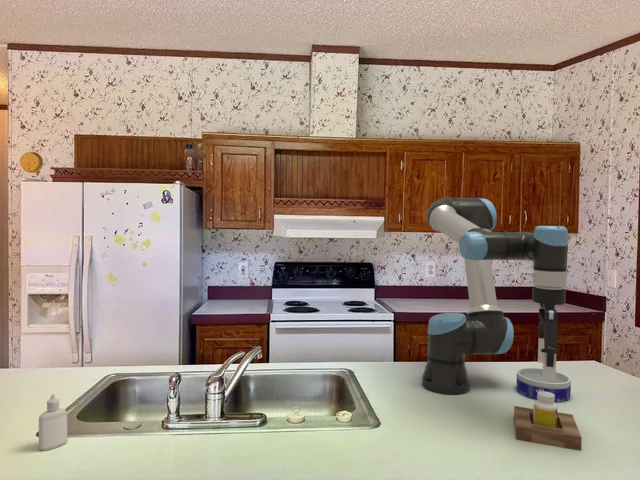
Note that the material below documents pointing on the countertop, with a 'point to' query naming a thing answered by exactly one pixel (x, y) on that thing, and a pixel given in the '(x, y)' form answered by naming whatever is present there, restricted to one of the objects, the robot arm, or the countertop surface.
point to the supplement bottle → (545, 410)
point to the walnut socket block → (547, 429)
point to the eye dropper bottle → (52, 426)
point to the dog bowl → (543, 384)
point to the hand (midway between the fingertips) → (546, 370)
